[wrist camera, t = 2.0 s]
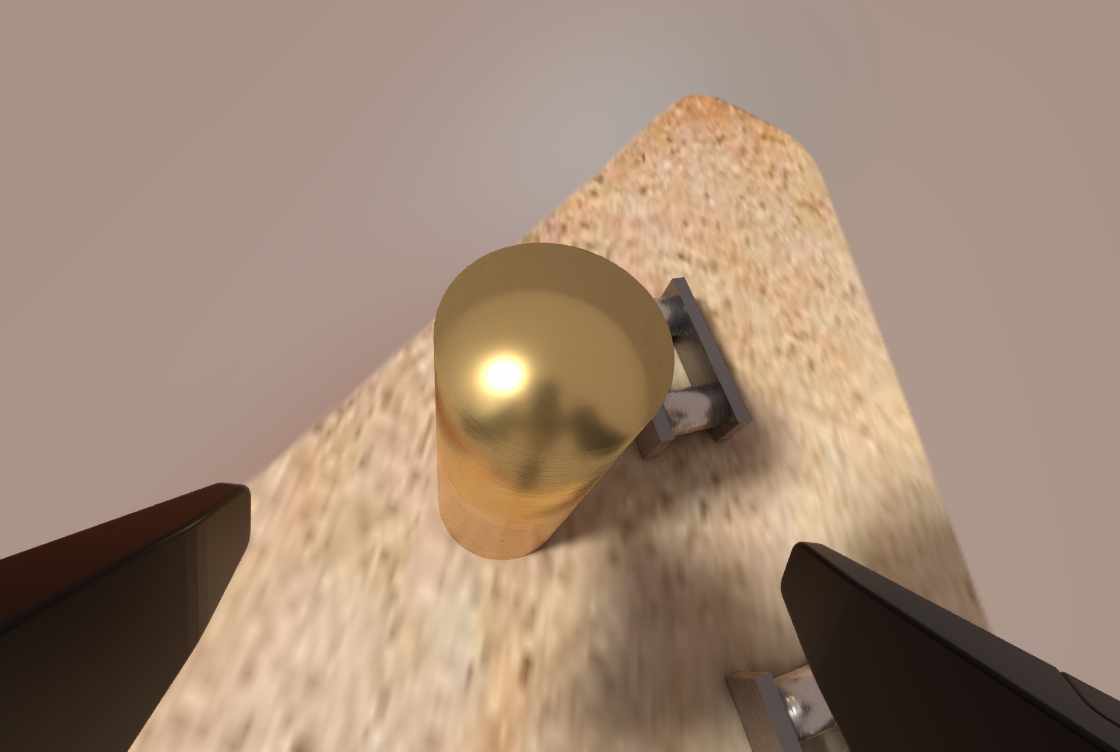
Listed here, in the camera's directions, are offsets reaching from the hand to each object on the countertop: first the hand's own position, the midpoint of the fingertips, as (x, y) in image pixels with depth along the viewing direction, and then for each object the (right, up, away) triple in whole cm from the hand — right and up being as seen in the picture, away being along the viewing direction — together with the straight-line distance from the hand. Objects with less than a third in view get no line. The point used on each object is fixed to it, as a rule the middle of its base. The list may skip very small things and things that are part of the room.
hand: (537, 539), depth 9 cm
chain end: (+5, +3, +15) cm, 16 cm away
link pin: (-2, -2, +11) cm, 11 cm away
